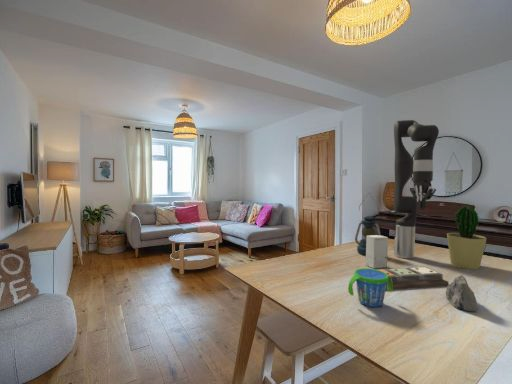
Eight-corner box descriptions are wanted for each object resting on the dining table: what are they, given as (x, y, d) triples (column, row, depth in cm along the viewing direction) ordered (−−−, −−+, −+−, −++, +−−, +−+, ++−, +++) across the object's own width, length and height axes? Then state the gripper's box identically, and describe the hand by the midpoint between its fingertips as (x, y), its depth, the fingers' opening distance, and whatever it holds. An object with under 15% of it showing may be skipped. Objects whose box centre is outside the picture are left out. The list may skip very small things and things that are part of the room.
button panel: (359, 276, 113) (359, 268, 113) (420, 273, 119) (421, 264, 118) (380, 290, 100) (380, 280, 100) (448, 285, 105) (448, 276, 105)
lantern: (382, 253, 151) (384, 192, 150) (380, 258, 141) (382, 193, 140) (356, 249, 159) (358, 191, 157) (352, 254, 149) (354, 192, 147)
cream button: (410, 272, 114) (410, 267, 113) (424, 271, 115) (424, 266, 115) (422, 278, 107) (423, 273, 107) (437, 277, 108) (438, 272, 108)
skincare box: (373, 269, 124) (374, 237, 123) (364, 265, 130) (365, 235, 129) (387, 267, 126) (388, 236, 126) (378, 263, 132) (379, 234, 132)
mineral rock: (449, 293, 98) (450, 266, 97) (487, 304, 89) (488, 275, 89) (435, 302, 90) (436, 273, 90) (475, 315, 81) (476, 283, 81)
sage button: (389, 273, 112) (389, 268, 112) (403, 272, 113) (404, 267, 113) (400, 279, 105) (401, 274, 105) (416, 278, 106) (416, 273, 106)
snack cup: (355, 311, 83) (356, 279, 83) (341, 296, 94) (342, 268, 93) (402, 309, 85) (403, 278, 84) (383, 295, 95) (383, 267, 95)
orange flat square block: (367, 274, 110) (367, 269, 110) (382, 273, 111) (383, 268, 111) (378, 281, 103) (378, 275, 103) (394, 280, 104) (394, 274, 104)
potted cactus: (470, 261, 137) (472, 204, 136) (494, 271, 122) (497, 207, 121) (439, 260, 139) (441, 203, 138) (458, 269, 124) (461, 206, 122)
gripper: (442, 170, 112) (441, 210, 112) (418, 171, 125) (417, 207, 125) (427, 169, 110) (425, 210, 111) (404, 170, 123) (403, 207, 124)
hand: (421, 209), depth 118 cm, fingers closed
